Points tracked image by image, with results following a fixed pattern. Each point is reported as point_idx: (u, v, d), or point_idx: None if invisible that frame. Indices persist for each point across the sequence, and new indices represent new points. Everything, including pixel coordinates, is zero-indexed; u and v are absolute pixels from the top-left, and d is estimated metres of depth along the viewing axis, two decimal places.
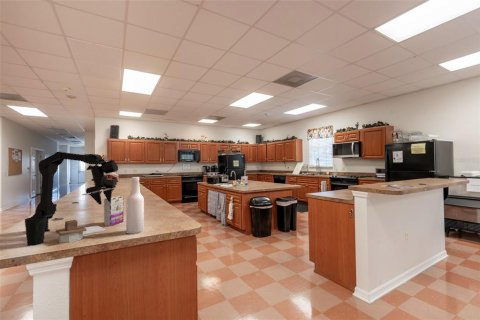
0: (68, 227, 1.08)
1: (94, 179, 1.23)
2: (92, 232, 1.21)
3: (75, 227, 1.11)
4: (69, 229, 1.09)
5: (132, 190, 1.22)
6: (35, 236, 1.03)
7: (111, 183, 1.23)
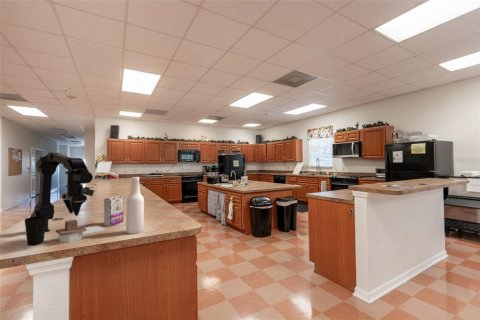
0: (68, 227, 1.08)
1: (72, 186, 1.10)
2: (92, 232, 1.21)
3: (75, 227, 1.11)
4: (69, 229, 1.09)
5: (132, 190, 1.22)
6: (35, 236, 1.03)
7: (92, 193, 1.16)
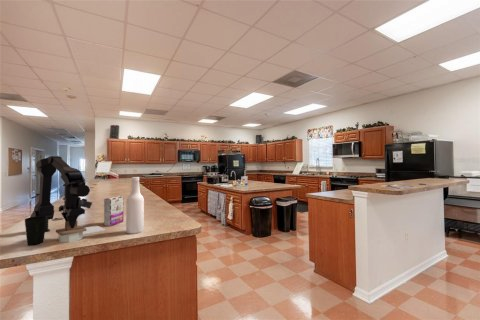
0: (68, 227, 1.08)
1: (70, 199, 1.09)
2: (92, 232, 1.21)
3: (75, 227, 1.11)
4: (69, 229, 1.09)
5: (132, 190, 1.22)
6: (35, 236, 1.03)
7: (89, 206, 1.15)
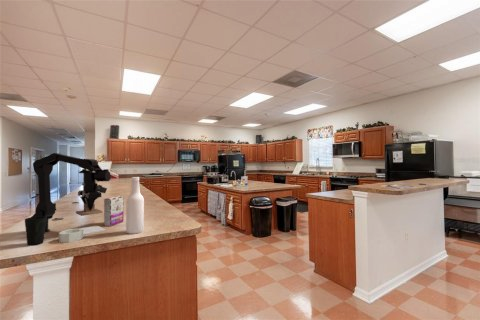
0: (87, 209, 1.23)
1: (88, 184, 1.23)
2: (92, 232, 1.21)
3: (92, 209, 1.25)
4: (87, 211, 1.23)
5: (132, 190, 1.22)
6: (35, 236, 1.03)
7: (104, 191, 1.30)
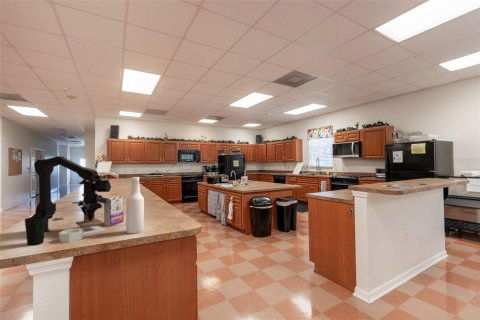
0: (87, 220, 1.23)
1: (89, 195, 1.24)
2: (92, 232, 1.21)
3: (93, 220, 1.25)
4: (88, 221, 1.24)
5: (132, 190, 1.22)
6: (35, 236, 1.03)
7: (105, 201, 1.30)
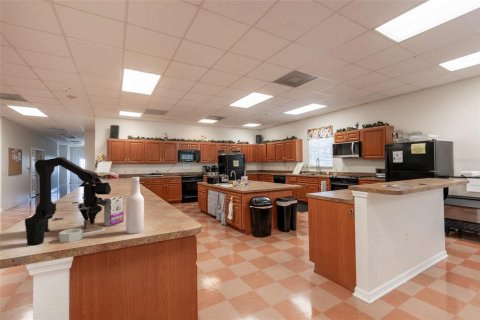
0: (87, 226, 1.23)
1: (89, 198, 1.24)
2: (92, 232, 1.21)
3: (93, 226, 1.25)
4: (88, 227, 1.23)
5: (132, 190, 1.22)
6: (35, 236, 1.03)
7: (105, 204, 1.30)
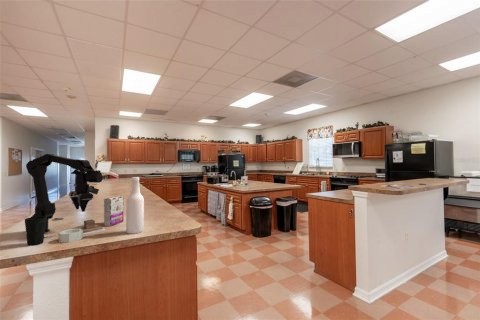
0: (87, 226, 1.23)
1: (80, 185, 1.22)
2: (92, 232, 1.21)
3: (93, 226, 1.25)
4: (88, 227, 1.23)
5: (132, 190, 1.22)
6: (35, 236, 1.03)
7: (96, 192, 1.29)
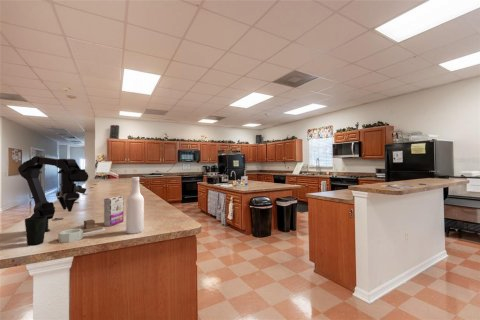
0: (87, 226, 1.23)
1: (66, 185, 1.20)
2: (92, 232, 1.21)
3: (93, 226, 1.25)
4: (88, 227, 1.23)
5: (132, 190, 1.22)
6: (35, 236, 1.03)
7: (84, 191, 1.26)
